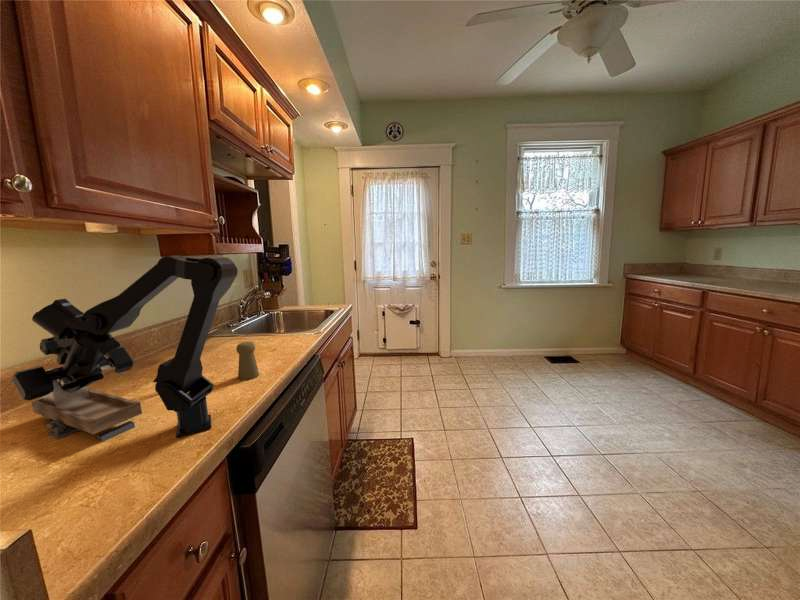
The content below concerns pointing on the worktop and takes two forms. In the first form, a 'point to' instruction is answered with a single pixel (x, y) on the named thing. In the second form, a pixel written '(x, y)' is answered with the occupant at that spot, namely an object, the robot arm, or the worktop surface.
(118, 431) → the pivot stand
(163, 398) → the robot arm
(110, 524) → the worktop surface
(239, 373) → the cork
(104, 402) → the wooden serving tray
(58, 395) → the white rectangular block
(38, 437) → the worktop surface
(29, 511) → the worktop surface
